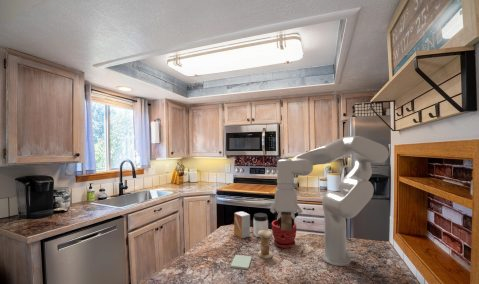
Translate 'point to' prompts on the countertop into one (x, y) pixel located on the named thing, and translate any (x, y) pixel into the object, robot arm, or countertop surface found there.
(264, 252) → the cream drawer knob
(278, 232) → the plant pot
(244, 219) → the small box
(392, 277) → the countertop surface
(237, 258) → the board
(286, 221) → the block
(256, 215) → the jar
